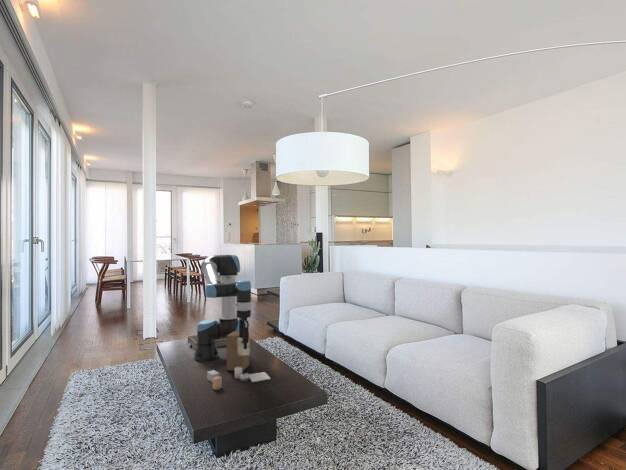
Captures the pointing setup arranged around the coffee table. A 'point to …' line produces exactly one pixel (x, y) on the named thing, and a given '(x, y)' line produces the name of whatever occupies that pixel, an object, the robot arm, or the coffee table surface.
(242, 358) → the wooden block
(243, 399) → the coffee table surface
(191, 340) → the book
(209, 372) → the grey box
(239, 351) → the maple block
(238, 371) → the grey rounded cylinder
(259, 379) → the coaster
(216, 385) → the peach capsule
